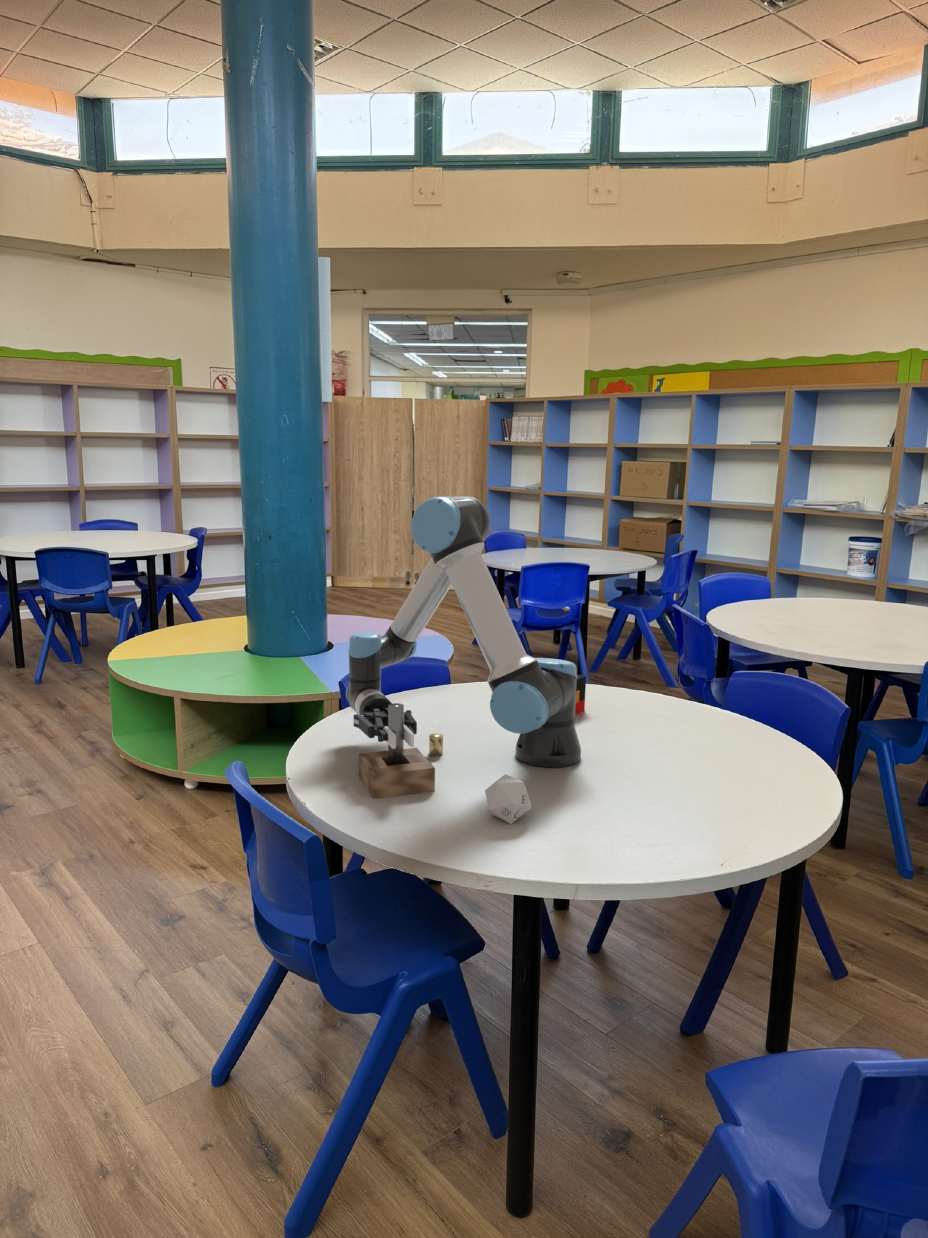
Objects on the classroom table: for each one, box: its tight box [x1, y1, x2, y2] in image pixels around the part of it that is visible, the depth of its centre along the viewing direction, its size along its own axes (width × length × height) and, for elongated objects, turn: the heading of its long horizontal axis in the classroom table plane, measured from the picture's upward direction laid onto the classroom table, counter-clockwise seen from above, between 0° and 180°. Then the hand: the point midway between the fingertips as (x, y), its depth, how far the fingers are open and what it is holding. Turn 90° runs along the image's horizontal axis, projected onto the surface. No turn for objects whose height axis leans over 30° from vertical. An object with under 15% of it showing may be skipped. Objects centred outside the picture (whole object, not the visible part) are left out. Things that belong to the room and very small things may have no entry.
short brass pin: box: [428, 732, 444, 757], centre depth 191 cm, size 3×3×4 cm
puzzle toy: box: [575, 674, 587, 716], centre depth 227 cm, size 10×10×10 cm
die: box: [484, 773, 533, 825], centre depth 156 cm, size 8×9×10 cm
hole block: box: [357, 747, 436, 799], centre depth 172 cm, size 13×13×5 cm
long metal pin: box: [387, 702, 405, 766], centre depth 171 cm, size 3×3×14 cm
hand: (403, 741), depth 166 cm, fingers closed on long metal pin, 3 cm apart
